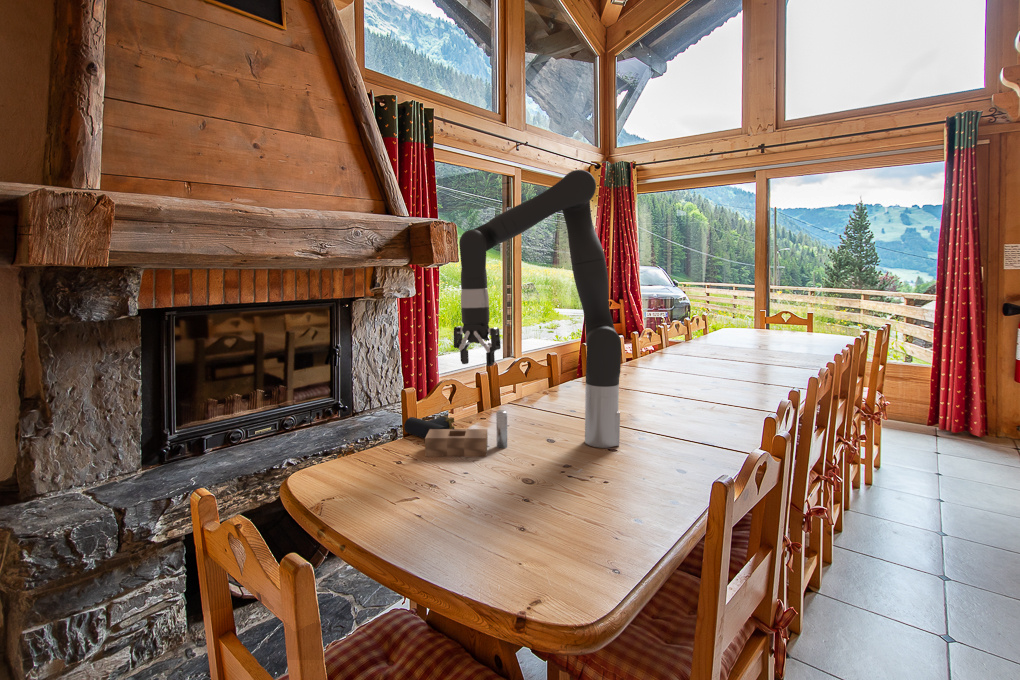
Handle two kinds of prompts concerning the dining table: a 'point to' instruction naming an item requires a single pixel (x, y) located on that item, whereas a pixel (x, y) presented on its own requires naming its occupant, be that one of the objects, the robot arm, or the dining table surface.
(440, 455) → the socket block
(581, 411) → the dining table surface
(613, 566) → the dining table surface
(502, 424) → the pin
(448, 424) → the pipe connector
